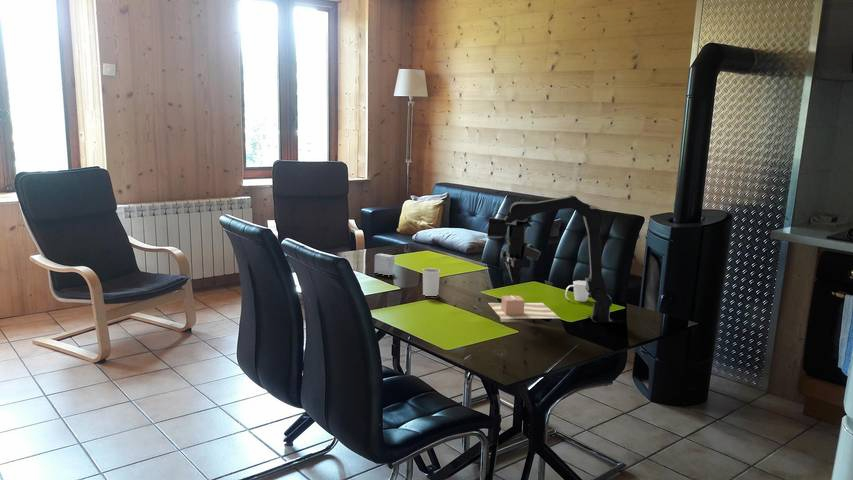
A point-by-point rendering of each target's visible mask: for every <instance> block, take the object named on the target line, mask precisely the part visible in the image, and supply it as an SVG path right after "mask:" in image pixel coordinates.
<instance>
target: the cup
mask: <svg viewBox="0 0 853 480" xmlns="http://www.w3.org/2000/svg"><path fill="white" fill-rule="evenodd" d="M569 288H573V296H574V297H573V298H574V300H575V301H576V302H582V303H584V302H587V301H588V298H589V296H590V294H589V293H588V292H587V290H586V289H585V288H586V280H574V281H573V282H572V284H570V285H568V286H567V287H566V288H565V293H564V296H565V298H566V299H567V300H568V301H570V302H571V301H572V300H571V299H570V298H569V297H568V290H569Z"/></svg>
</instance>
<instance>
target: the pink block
mask: <svg viewBox="0 0 853 480" xmlns="http://www.w3.org/2000/svg"><path fill="white" fill-rule="evenodd" d="M501 303H502V305H501V310H502V311H503V312H504V313H505V314H524V303H525V299H524V298H523V297H521V295H501Z"/></svg>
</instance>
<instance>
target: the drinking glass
mask: <svg viewBox="0 0 853 480" xmlns="http://www.w3.org/2000/svg"><path fill="white" fill-rule="evenodd" d="M440 274H441V270H440V269H438V268H431V267H430V268H429V267H428V268H423V269H422V296H423V295H425V296H437V295H438V296H439V289H440V288H439V287H440V286H439V285H440V276H441V275H440ZM425 296H424V297H425ZM438 296H437V297H438Z"/></svg>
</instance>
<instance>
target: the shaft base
mask: <svg viewBox="0 0 853 480" xmlns="http://www.w3.org/2000/svg"><path fill="white" fill-rule="evenodd" d="M487 304H488V305H489V306H490V308H492V310H493V311H494V312H495V313H496V314H497V315H498V316H497V319H498V320H499V321H500V323H519V322H520V323H521V322H524V323H527V322H528V321H527V320H521V319H561V317H560V316H559V315H558V314H557V313H555V312H554V311H553V310H552V309H550V308H549V307H548V306H547V305H546V304H544V302H524V314H505V313H504V312H503V311H502V310H501V305H502V302H487ZM518 319H519V320H518Z"/></svg>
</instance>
